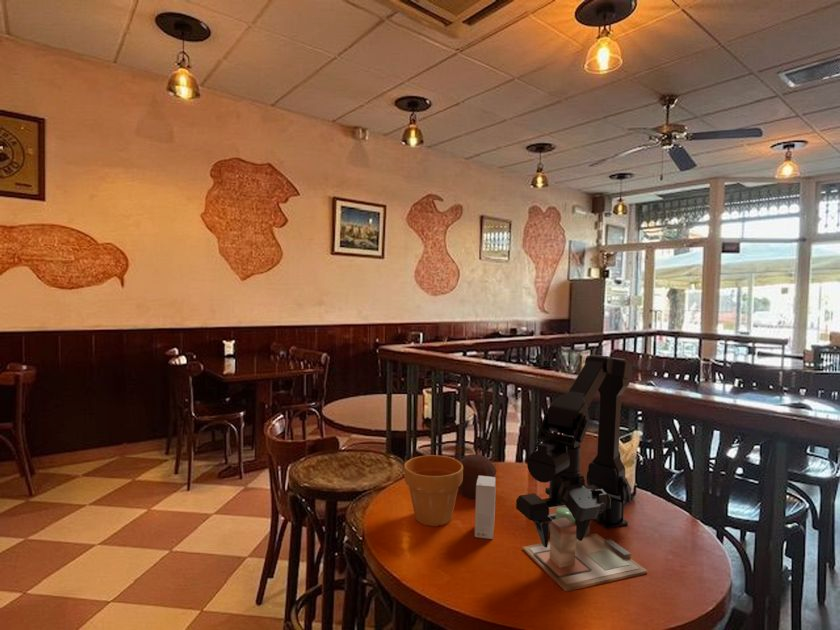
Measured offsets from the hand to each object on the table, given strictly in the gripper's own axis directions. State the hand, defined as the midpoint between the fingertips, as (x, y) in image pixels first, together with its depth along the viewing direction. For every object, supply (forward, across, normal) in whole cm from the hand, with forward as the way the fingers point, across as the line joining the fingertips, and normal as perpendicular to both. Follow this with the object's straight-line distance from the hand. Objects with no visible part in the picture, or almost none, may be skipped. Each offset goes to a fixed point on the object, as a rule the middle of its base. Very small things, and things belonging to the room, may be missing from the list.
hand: (562, 543), depth 96 cm
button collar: (+4, +9, +12) cm, 15 cm away
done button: (+3, +9, +11) cm, 15 cm away
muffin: (+5, -2, +36) cm, 37 cm away
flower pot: (+5, -18, +26) cm, 32 cm away
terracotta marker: (+4, 0, 0) cm, 4 cm away
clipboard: (+4, +5, 0) cm, 7 cm away
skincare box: (+5, -9, +16) cm, 19 cm away
